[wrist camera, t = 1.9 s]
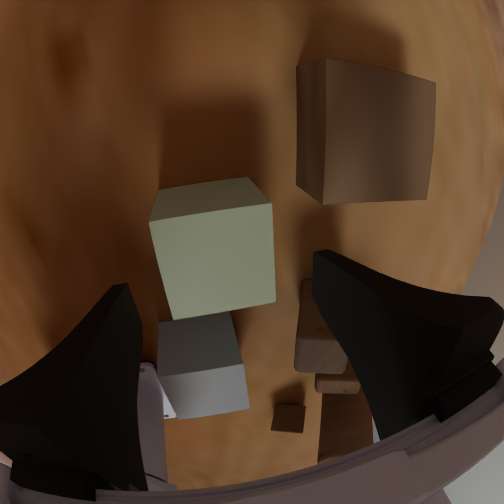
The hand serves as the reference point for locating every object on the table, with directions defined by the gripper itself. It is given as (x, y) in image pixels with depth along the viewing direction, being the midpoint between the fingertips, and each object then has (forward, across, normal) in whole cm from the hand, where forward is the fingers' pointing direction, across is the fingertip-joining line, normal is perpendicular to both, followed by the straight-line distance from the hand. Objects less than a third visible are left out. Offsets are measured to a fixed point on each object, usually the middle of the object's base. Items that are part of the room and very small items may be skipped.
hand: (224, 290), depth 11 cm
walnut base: (+7, -9, -5) cm, 12 cm away
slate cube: (+7, +2, +9) cm, 12 cm away
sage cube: (+7, 0, 0) cm, 7 cm away
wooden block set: (+7, -7, +14) cm, 17 cm away
